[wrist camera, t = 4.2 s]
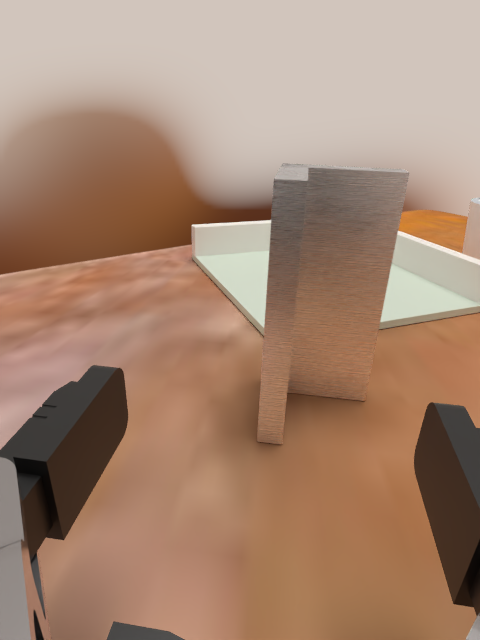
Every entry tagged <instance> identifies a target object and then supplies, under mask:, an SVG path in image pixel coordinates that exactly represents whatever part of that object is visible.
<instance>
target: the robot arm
mask: <svg viewBox="0 0 480 640" xmlns="http://www.w3.org/2000/svg"><path fill="white" fill-rule="evenodd" d="M127 422H128V409H127V399H126V390H125V380H124V373H123V371H122V369H121V368H114V367H105V366H96V365H94V366H91V367H90V368H89V369H88V371H87V372H86V373H85V374H84V375H83V376H82V378H81V379H80V380H79V381H78V382H73V381H71V382H69V383H68V384H66V385H64V386H63V387H61V388H59V389H58V390H56V391H54V392H53V393H52V394H51V396H50V397H49V398H48V399H47V400H46V401H45V402H44V403H43V404H42V407H39V409H38V410H37V411H36V412H35V413H34V414H33V417H32V418H29V419H28V421H27V422H26V423H25V424H24V425H23V426H22V427H21V428H20V429H19V430H18V431H17V433H16V434H15V435H14V436H13V437H12V438H11V439H10V440H9V441H8V442H7V443H6V445H5V446H4V447H3V448H2V449H1V450H0V640H51V634H50V628H49V621H48V614H47V607H46V601H45V594H44V587H43V580H42V573H41V566H40V559H39V554H38V549H39V547H40V546H41V544H42V542H43V541H44V539H45V538H46V537H47V538H53V539H60V540H64V539H65V537H66V535H67V534H68V532H69V530H70V529H71V527H72V525H73V523H74V522H75V520H76V518H77V516H78V515H79V513H80V511H81V509H82V508H83V506H84V504H85V502H86V501H87V499H88V497H89V496H90V494H91V492H92V490H93V489H94V487H95V485H96V483H97V482H98V480H99V478H100V476H101V475H102V473H103V471H104V469H105V468H106V466H107V464H108V462H109V461H110V459H111V457H112V456H113V454H114V452H115V450H116V449H117V447H118V445H119V443H120V442H121V440H122V438H123V436H124V434H125V431H126V428H127ZM414 468H415V474H416V478H417V482H418V485H419V488H420V492H421V495H422V499H423V502H424V505H425V509H426V512H427V516H428V519H429V522H430V526H431V529H432V533H433V536H434V539H435V543H436V546H437V550H438V553H439V557H440V560H441V563H442V567H443V570H444V574H445V577H446V580H447V584H448V587H449V591H450V594H451V597H452V601H453V604H457V605H463V606H469V607H474V609H475V612H476V615H477V618H476V620H475V622H474V624H473V626H472V628H471V630H470V632H469V634H468V636H467V638H466V640H480V428H476V427H475V425H474V423H473V422H472V420H471V418H470V416H469V414H468V412H467V410H466V409H465V407H464V406H459V405H450V404H441V403H430V404H429V405H428V406H427V409H426V412H425V416H424V420H423V423H422V427H421V431H420V434H419V438H418V442H417V445H416V449H415V456H414ZM107 640H184V639H182V638H180V637H179V636H177V635H175V634H173V633H171V632H169V631H163V630H157V629H152V628H146V627H141V626H135V625H130V624H124V623H119V622H113V624H112V627H111V630H110V632H109V635H108V637H107Z"/></svg>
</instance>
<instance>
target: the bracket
mask: <svg viewBox="0 0 480 640" xmlns="http://www.w3.org/2000/svg"><path fill="white" fill-rule="evenodd" d="M408 177H409V172H407V171H405V170H402V169H383V168H363V167H343V166H323V165H303V164H302V165H301V164H282V166H281V168H280V169H279V171H278V173H277V175H276V176H275V178H274V186H273V202H272V217H271V232H270V247H269V263H268V278H267V294H266V309H265V325H264V340H263V356H262V371H261V387H260V402H259V418H258V433H257V442H265V443H273V444H281V445H282V441H283V431H284V420H285V410H286V400H287V392H288V393H297V394H306V395H314V396H323V397H332V398H341V399H350V400H359V401H365V398H366V393H367V387H368V382H369V377H370V372H371V367H372V362H373V357H374V351H375V346H376V341H377V336H378V331H379V326H380V321H381V316H382V310H383V305H384V300H385V295H386V290H387V285H388V280H389V274H390V269H391V264H392V259H393V254H394V249H395V244H396V238H397V233H398V228H399V223H400V218H401V213H402V208H403V202H404V197H405V192H406V186H407V182H408Z"/></svg>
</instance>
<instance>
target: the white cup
mask: <svg viewBox="0 0 480 640" xmlns="http://www.w3.org/2000/svg"><path fill="white" fill-rule="evenodd" d="M462 254H465V255H467V256H470V257H473V258H476V259H479V260H480V198H474V199H471V202H470V208H469V214H468V220H467V226H466V233H465V239H464V245H463V251H462Z"/></svg>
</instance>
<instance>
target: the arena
mask: <svg viewBox="0 0 480 640" xmlns="http://www.w3.org/2000/svg"><path fill="white" fill-rule="evenodd" d="M270 232H271V220H268V221H250V222H233V223H216V224H198V225H192V259H193V260H194V261H195V262H196V263H197V265H198V266H199V267H200V268H201V269H202V270H203V271H204V272H205V273H206V274H207V275H208V276H209V277H210V279H211V280H212V281H213V282H214V283H215V284H216V285H217V286H218V287H219V288H220V289H221V290H222V291H223V293H224V294H225V295H226V296H227V297H228V298H229V299H230V300H231V301H232V302H233V303H234V304H235V306H236V307H237V308H238V309H239V310H240V311H241V312H242V313H243V314H244V315H245V316H246V317H247V318H248V320H249V321H250V322H251V323H252V324H253V325H254V326H255V327H256V328H257V329H258V330H259V331H260V332H261V334H262V335H263V336H264V325H265V309H266V294H267V278H268V263H269V247H270ZM478 312H480V260H479V259H476V258H473V257H470V256H467V255H465V254H462V253H459V252H456V251H453V250H451V249H448V248H445V247H442V246H440V245H437V244H434V243H431V242H428V241H426V240H423V239H420V238H417V237H414V236H412V235H409V234H406V233H403V232H401V231H398V233H397V238H396V244H395V249H394V254H393V259H392V264H391V269H390V274H389V280H388V285H387V290H386V295H385V300H384V305H383V310H382V316H381V321H380V326H379V329H384V328H390V327H396V326H402V325H408V324H413V323H419V322H425V321H431V320H437V319H443V318H449V317H454V316H460V315H466V314H472V313H478Z"/></svg>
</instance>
